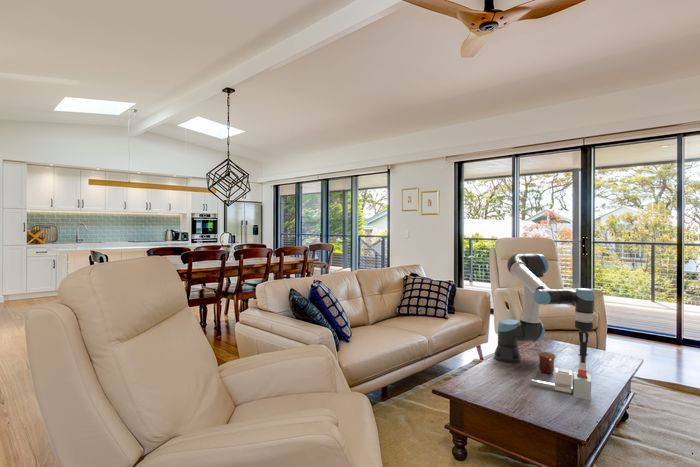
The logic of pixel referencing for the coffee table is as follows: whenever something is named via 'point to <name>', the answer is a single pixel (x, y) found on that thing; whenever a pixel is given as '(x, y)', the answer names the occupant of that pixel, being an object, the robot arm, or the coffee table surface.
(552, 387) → the rail
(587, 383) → the end cabinet
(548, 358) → the mug
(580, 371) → the button
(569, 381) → the cream and grey block
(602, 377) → the coffee table surface
